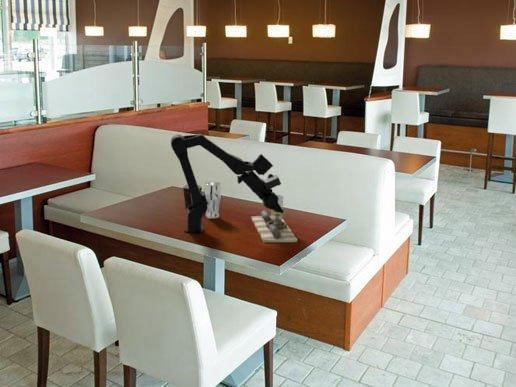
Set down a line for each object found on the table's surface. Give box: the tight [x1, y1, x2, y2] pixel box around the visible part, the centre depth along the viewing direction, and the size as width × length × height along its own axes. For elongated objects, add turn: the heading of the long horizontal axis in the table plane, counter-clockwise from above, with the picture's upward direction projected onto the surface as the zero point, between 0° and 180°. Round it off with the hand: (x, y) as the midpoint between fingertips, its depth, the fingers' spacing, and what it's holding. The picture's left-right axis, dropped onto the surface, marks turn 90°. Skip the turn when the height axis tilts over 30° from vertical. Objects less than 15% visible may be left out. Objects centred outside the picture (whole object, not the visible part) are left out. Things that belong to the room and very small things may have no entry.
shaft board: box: [250, 210, 298, 244], centre depth 237 cm, size 32×13×4 cm, turn 10°
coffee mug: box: [182, 184, 203, 210], centre depth 262 cm, size 12×9×10 cm
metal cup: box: [270, 194, 284, 226], centre depth 236 cm, size 5×5×13 cm
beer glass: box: [204, 181, 222, 220], centre depth 250 cm, size 7×7×15 cm
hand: (280, 209), depth 236 cm, fingers open, 9 cm apart
